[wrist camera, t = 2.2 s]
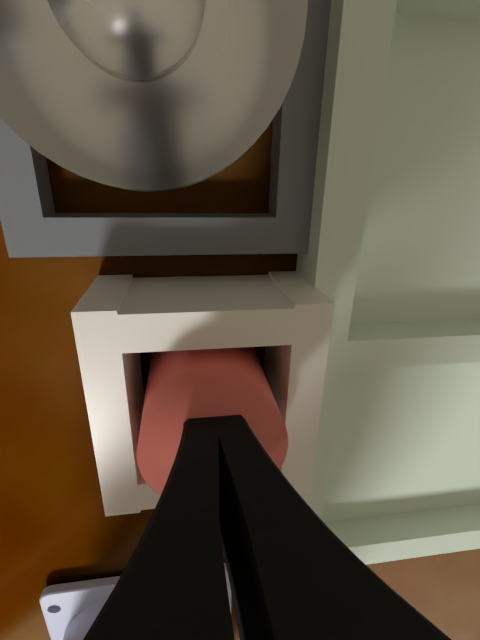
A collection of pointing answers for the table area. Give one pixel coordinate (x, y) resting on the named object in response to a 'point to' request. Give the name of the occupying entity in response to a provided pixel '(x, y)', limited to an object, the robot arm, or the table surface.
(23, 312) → the table surface
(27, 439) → the table surface
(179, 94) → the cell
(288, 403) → the frame
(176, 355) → the button
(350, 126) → the trough tray
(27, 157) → the cradle
